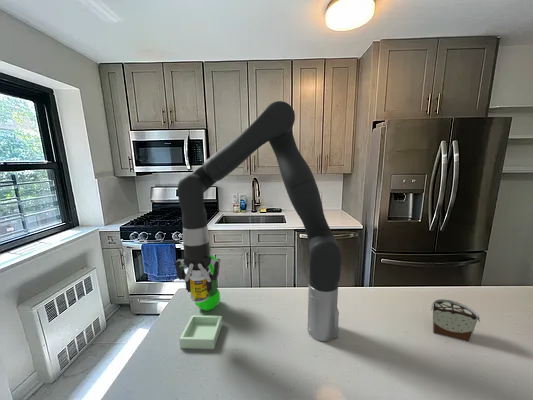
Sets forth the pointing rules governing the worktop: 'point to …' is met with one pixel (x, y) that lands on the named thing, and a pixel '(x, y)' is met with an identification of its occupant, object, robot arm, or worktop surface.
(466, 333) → the mint chocolate cake slice
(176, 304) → the worktop surface
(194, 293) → the supplement bottle
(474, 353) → the worktop surface
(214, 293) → the plastic bottle
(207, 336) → the tray
